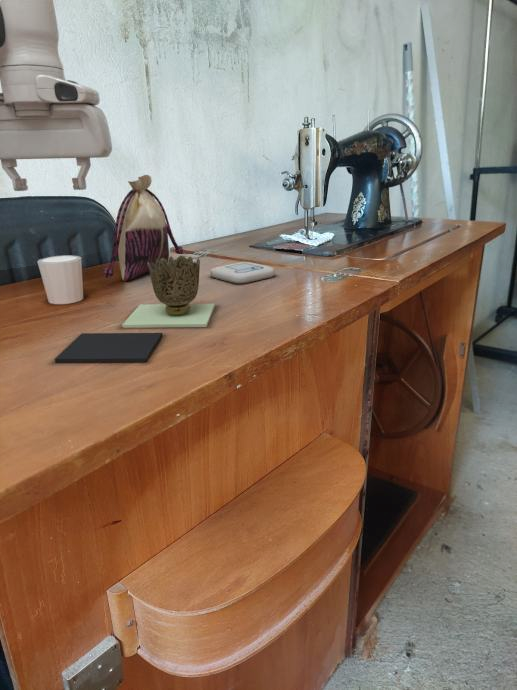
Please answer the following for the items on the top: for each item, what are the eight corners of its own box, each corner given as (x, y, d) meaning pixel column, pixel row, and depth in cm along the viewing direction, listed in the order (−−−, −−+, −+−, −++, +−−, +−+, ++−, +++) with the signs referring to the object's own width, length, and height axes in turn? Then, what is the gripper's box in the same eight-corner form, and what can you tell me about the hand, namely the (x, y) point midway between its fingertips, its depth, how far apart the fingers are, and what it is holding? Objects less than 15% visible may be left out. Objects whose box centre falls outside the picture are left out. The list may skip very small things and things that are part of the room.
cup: (144, 313, 78) (138, 260, 75) (185, 303, 82) (181, 253, 79) (169, 324, 72) (164, 268, 69) (212, 313, 77) (209, 260, 74)
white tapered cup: (42, 297, 89) (35, 257, 86) (83, 292, 92) (77, 253, 89) (47, 307, 83) (39, 264, 81) (90, 301, 86) (84, 259, 84)
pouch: (133, 288, 94) (120, 178, 87) (94, 286, 96) (79, 178, 89) (191, 260, 116) (185, 171, 109) (158, 259, 118) (150, 171, 111)
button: (279, 267, 99) (238, 276, 93) (279, 276, 100) (239, 285, 94) (245, 260, 106) (206, 268, 100) (245, 268, 107) (206, 276, 101)
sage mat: (122, 328, 73) (121, 324, 73) (140, 307, 82) (139, 304, 82) (206, 327, 72) (206, 323, 72) (215, 306, 82) (215, 303, 82)
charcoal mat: (55, 362, 62) (54, 358, 61) (82, 336, 70) (81, 333, 70) (146, 362, 61) (145, 358, 61) (162, 336, 69) (162, 332, 69)
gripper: (-47, 91, 73) (-26, 192, 78) (95, 87, 72) (107, 190, 77) (-22, 96, 79) (-4, 189, 84) (109, 92, 78) (119, 187, 83)
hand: (50, 190), depth 81 cm, fingers open, 8 cm apart
